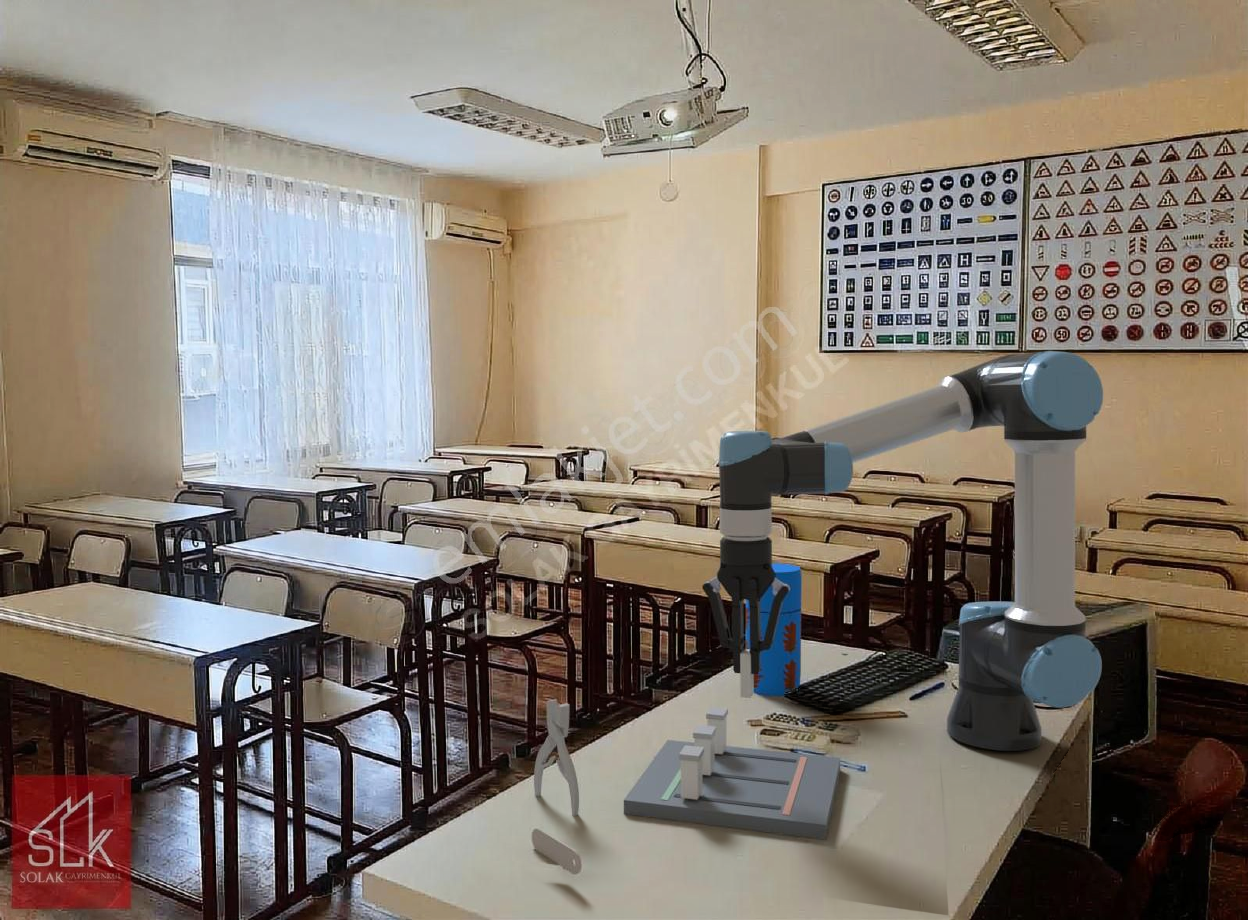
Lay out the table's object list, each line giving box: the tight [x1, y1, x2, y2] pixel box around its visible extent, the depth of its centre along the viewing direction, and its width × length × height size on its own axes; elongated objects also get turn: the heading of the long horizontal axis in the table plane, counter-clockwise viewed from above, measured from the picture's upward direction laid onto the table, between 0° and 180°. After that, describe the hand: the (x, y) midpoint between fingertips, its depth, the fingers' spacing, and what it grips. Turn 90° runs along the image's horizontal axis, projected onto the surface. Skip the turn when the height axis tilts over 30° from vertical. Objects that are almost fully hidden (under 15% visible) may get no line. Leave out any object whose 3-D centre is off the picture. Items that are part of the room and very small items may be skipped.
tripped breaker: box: [692, 724, 716, 775], centre depth 146 cm, size 3×4×6 cm
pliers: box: [533, 699, 580, 817], centre depth 139 cm, size 10×2×15 cm, turn 41°
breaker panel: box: [623, 739, 841, 840], centre depth 144 cm, size 28×25×2 cm
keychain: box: [531, 827, 583, 875], centre depth 123 cm, size 10×1×3 cm, turn 39°
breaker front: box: [679, 745, 704, 800], centre depth 137 cm, size 3×4×6 cm
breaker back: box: [705, 706, 729, 754], centre depth 154 cm, size 3×4×6 cm
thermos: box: [745, 562, 802, 697], centre depth 192 cm, size 11×11×25 cm
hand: (747, 694), depth 143 cm, fingers closed
